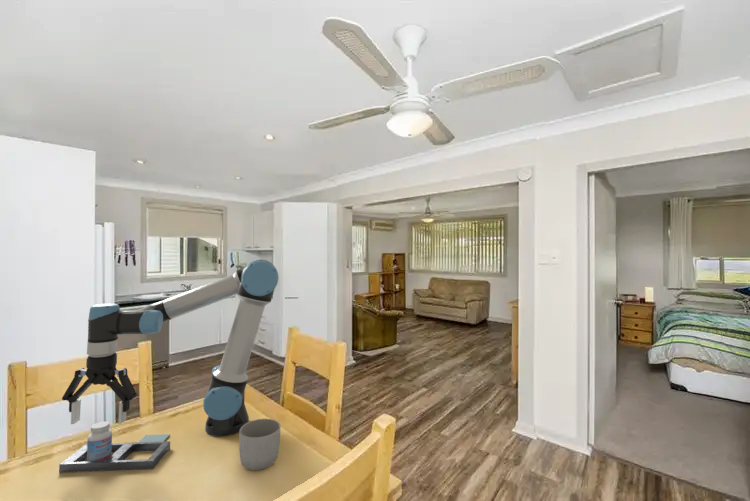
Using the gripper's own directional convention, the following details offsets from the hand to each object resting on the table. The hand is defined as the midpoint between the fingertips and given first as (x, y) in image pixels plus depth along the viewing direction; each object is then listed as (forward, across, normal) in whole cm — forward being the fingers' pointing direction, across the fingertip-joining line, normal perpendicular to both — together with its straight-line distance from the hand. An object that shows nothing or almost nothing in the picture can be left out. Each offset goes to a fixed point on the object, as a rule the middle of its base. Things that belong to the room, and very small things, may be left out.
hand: (98, 422), depth 109 cm
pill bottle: (+12, -1, 0) cm, 12 cm away
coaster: (+12, -11, -10) cm, 19 cm away
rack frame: (+12, -6, 0) cm, 13 cm away
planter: (+12, -50, +4) cm, 52 cm away
